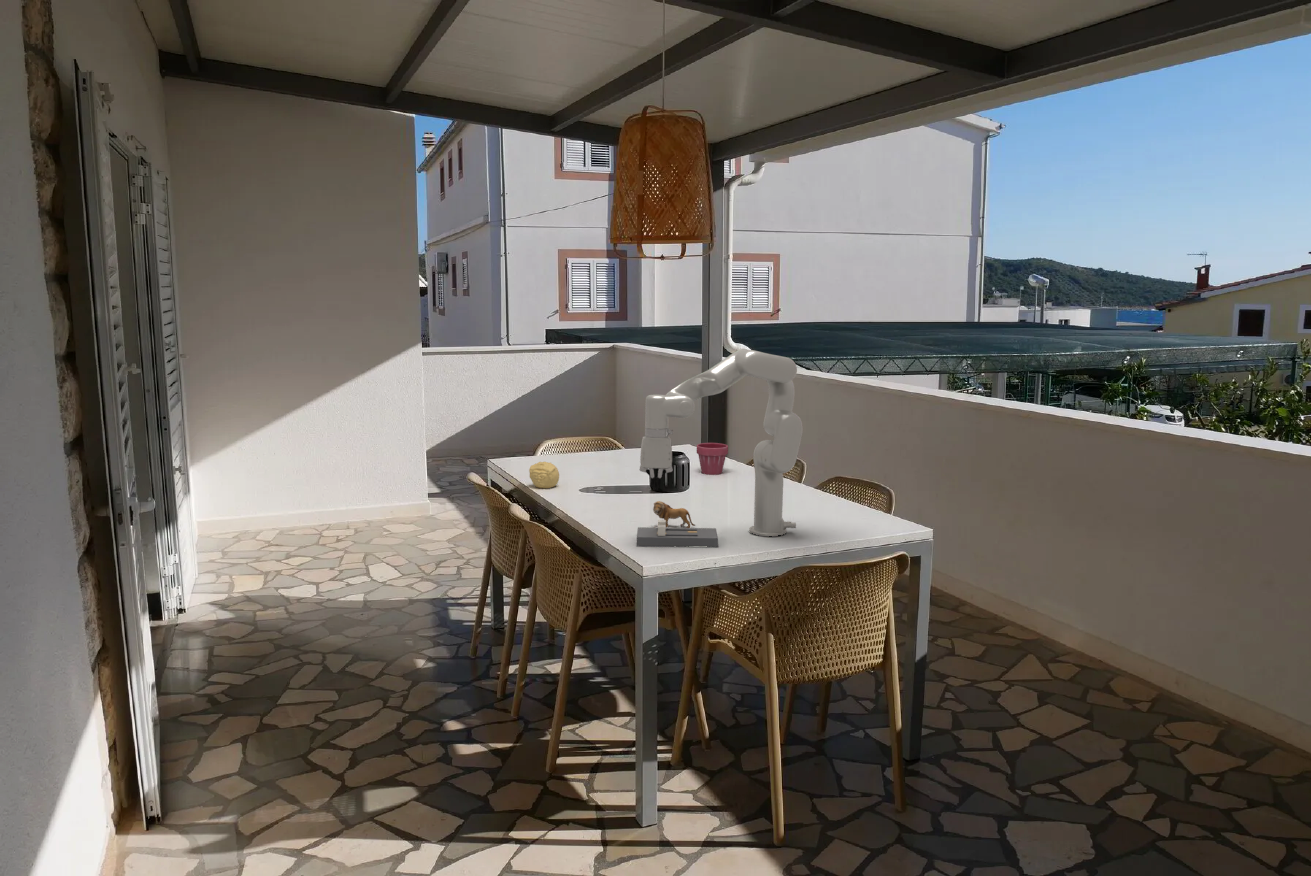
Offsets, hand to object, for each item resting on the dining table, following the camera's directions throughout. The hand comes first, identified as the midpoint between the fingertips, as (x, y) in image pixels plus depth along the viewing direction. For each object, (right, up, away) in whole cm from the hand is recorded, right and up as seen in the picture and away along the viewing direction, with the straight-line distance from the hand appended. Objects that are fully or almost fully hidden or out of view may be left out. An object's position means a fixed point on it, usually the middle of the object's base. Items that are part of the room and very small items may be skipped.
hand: (655, 489), depth 306 cm
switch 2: (+2, -15, 0) cm, 16 cm away
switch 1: (+2, -14, +6) cm, 16 cm away
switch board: (+7, -17, +3) cm, 19 cm away
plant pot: (+25, +1, +122) cm, 125 cm away
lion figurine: (+6, -15, +23) cm, 28 cm away
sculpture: (-46, -4, +88) cm, 100 cm away
